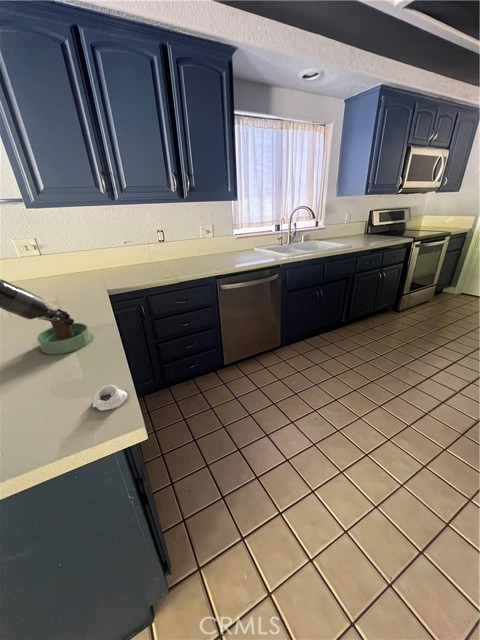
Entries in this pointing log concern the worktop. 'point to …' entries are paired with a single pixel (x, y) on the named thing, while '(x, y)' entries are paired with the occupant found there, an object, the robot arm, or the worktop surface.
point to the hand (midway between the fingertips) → (65, 322)
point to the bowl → (64, 340)
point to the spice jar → (62, 329)
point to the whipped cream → (113, 401)
